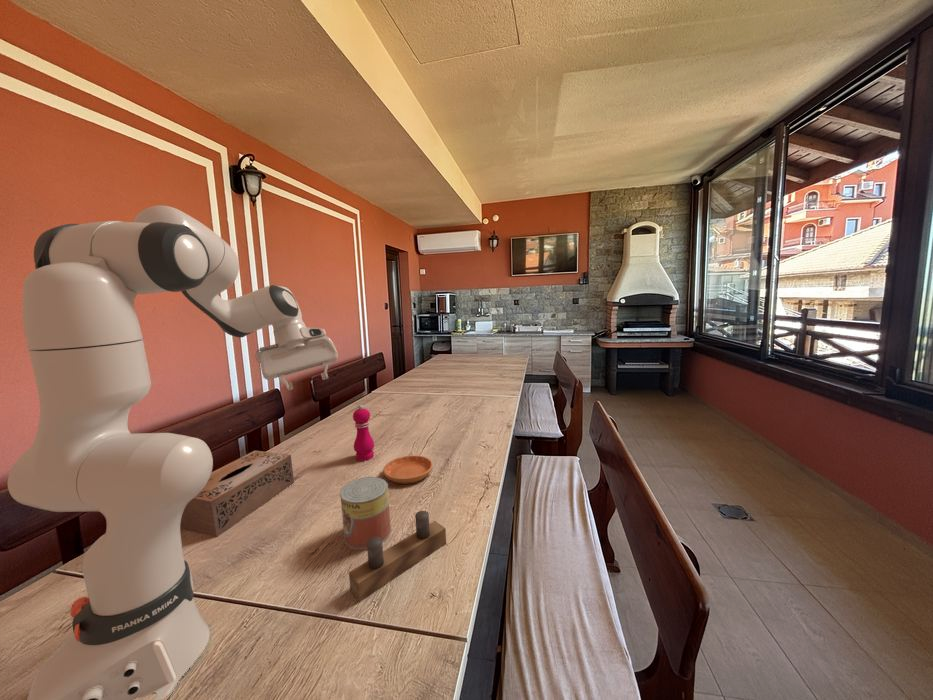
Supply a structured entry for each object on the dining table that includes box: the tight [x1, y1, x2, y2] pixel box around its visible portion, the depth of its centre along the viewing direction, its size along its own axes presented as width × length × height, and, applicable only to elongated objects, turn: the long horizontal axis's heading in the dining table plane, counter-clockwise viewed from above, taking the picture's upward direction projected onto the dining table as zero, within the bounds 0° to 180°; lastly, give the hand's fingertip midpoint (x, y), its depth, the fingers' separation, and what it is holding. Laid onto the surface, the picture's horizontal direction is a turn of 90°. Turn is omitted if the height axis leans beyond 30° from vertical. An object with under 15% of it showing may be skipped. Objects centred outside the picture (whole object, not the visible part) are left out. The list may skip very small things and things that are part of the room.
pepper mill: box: [352, 404, 375, 462], centre depth 127 cm, size 7×7×20 cm
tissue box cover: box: [180, 450, 295, 538], centre depth 101 cm, size 26×14×10 cm, turn 163°
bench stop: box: [348, 510, 447, 602], centre depth 76 cm, size 22×4×9 cm, turn 134°
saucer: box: [383, 455, 433, 485], centre depth 116 cm, size 16×16×3 cm
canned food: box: [339, 476, 392, 550], centre depth 86 cm, size 11×11×12 cm
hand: (308, 383), depth 99 cm, fingers open, 8 cm apart
